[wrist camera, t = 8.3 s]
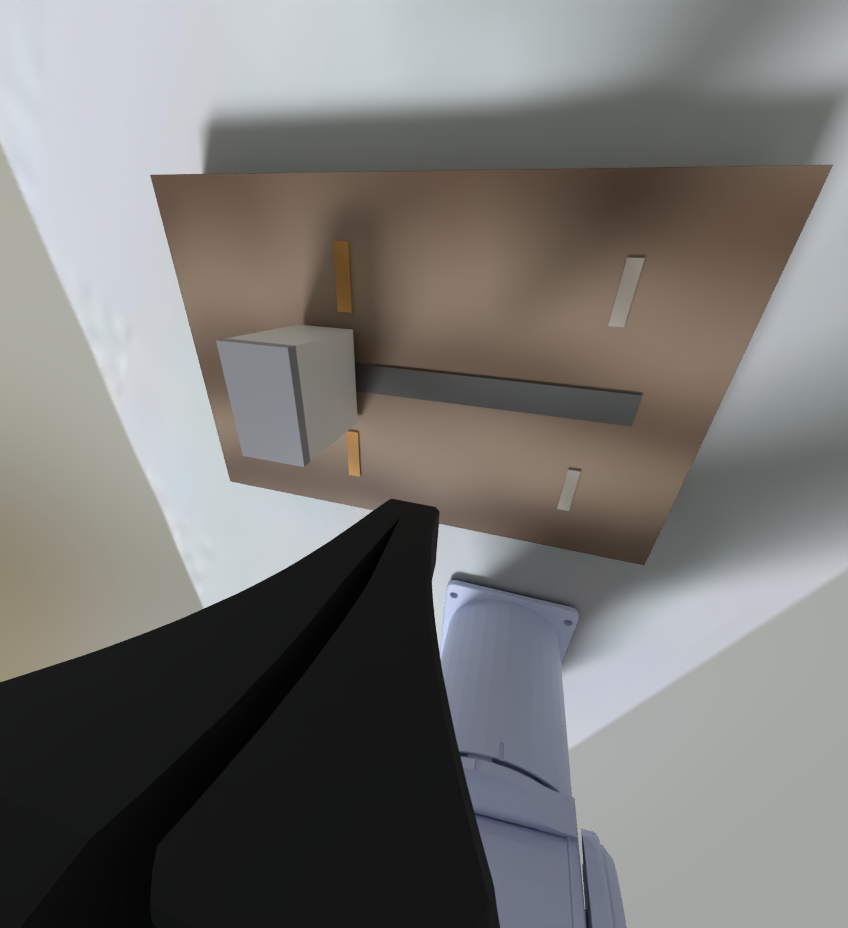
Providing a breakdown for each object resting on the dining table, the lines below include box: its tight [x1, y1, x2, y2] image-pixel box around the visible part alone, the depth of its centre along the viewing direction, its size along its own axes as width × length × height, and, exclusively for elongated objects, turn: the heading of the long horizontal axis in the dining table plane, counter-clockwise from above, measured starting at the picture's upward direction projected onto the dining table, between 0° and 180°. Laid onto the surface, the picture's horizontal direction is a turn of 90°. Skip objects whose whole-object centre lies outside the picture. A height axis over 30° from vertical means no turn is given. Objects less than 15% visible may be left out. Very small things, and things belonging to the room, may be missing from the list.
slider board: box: [150, 165, 833, 565], centre depth 16 cm, size 14×22×3 cm, turn 87°
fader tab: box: [216, 325, 358, 467], centre depth 13 cm, size 4×2×4 cm, turn 177°
